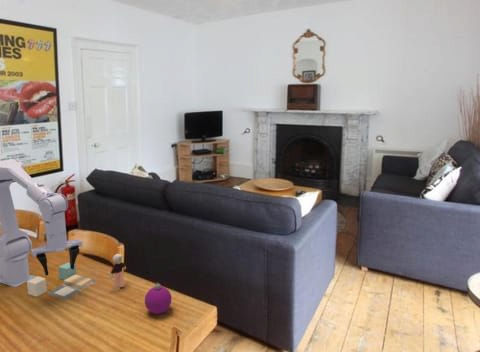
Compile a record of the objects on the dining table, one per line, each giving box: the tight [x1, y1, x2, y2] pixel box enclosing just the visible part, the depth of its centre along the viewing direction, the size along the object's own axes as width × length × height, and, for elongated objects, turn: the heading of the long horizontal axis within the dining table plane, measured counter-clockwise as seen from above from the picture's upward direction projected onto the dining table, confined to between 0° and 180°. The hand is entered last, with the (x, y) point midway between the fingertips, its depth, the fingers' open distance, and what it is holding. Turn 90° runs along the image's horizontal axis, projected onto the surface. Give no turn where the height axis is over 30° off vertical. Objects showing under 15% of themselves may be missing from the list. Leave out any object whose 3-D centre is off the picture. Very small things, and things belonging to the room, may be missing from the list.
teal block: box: [58, 262, 77, 280], centre depth 133 cm, size 4×4×5 cm
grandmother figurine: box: [109, 253, 127, 292], centre depth 127 cm, size 8×4×13 cm, turn 168°
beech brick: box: [62, 274, 92, 291], centre depth 129 cm, size 8×5×2 cm, turn 66°
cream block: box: [26, 276, 48, 298], centre depth 123 cm, size 4×4×5 cm
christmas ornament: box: [144, 281, 172, 315], centre depth 114 cm, size 8×8×10 cm
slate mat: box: [47, 275, 99, 300], centre depth 128 cm, size 9×14×1 cm, turn 156°
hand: (59, 271), depth 120 cm, fingers open, 7 cm apart
